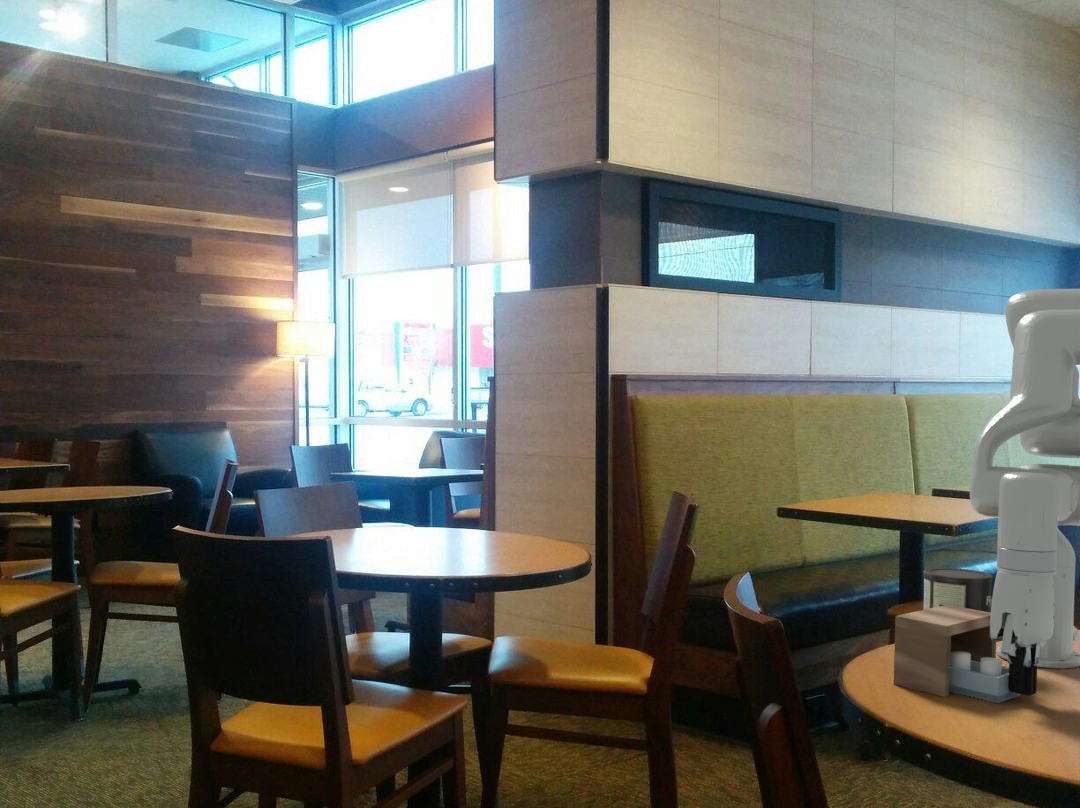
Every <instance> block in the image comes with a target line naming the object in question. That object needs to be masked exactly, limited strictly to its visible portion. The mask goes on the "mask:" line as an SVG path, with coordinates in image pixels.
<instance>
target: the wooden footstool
mask: <svg viewBox="0 0 1080 808" xmlns="http://www.w3.org/2000/svg"><path fill="white" fill-rule="evenodd" d="M990 619H991V613H990V612H984V611H979V610H973V609H968V608H962V607H956V606H951V605H943V606H939V607H934V608H930V609H925V610H924V609H921V610H917V611H912V612H908V613H903V614H898V615H895V620H894V622H895V623H894V625H895V626H894V655H893V656H894V657H893V659H894V661H893V685H895V686H899V687H903V688H908V689H911V690H915V691H919V692H923V693H928V694H931V695H934V696H939V697H942V698H946V697H948V696H950V692H949V683H950V652H951V651H963V652H968V653H970V654H971V660H972V661H977V662H980V659H981V658H984V657H989V658H996V657H997V655H996V654H997V642H995V641H992V640H991V638H990ZM996 659H997V658H996Z"/></svg>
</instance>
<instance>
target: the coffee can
mask: <svg viewBox="0 0 1080 808" xmlns="http://www.w3.org/2000/svg"><path fill="white" fill-rule="evenodd" d="M923 578H924V579H923V610H925V609H930V608H934V607H939V606H943V605H951V606H956V607H962V608H968V609H973V610H979V611H984V612H990V613H991V607H992V582H993V575H992V574H990V573H987V572H985V571H979V570H974V569H966V568H957V567H956V568H955V567H932V568H926V569H924V570H923Z"/></svg>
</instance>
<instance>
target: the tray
mask: <svg viewBox="0 0 1080 808" xmlns="http://www.w3.org/2000/svg"><path fill="white" fill-rule="evenodd" d="M1002 665H1003V660H1001V659H1000V658H989V657H984V658H981V659H980V662H977V661H972V660H971V654H970V653H968V652H963V651H951V652H950V683H949V693H952V694H957V695H961V694H962V695H961V696H965V695H966V697H969V696H971V697H970V698H973V697H975V698H974V699H977V698H979V699H978V700H981V699H983V700H982V701H986V700H987V701H986V702H990V701H991V703H994V702H995V703H994V704H1001V703H1003V702H1006V701H1008V700H1011V699H1013V698H1014V699H1015V698H1016V697H1020V695H1021V694H1018V693H1014V692H1010V691H1009V689H1008V688H1009V667H1004V666H1002Z"/></svg>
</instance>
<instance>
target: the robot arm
mask: <svg viewBox="0 0 1080 808" xmlns="http://www.w3.org/2000/svg"><path fill="white" fill-rule="evenodd" d="M1005 323H1006V327H1007V332H1008V336H1009V339H1010V342H1011V344H1012V347H1013V354H1012V355H1013V356H1012V368H1011V369H1012V370H1011V380H1010V388H1009V389H1010V393H1009V400H1008V402H1007V404H1006V405H1005V406H1004V407H1003V408H1002V409H1000V411H998V412H997V413H996V414H995V415H993V416H992V418H990V420H989V421H987V423H986V425H984V427H983V429H982V430H981V431H980V433H979V435H978V437H977V439H976V441H975V444H974V448H973V452H972V461H971V469H970V470H971V471H970V480H969V500H970V504H971V506H972V508H973V510H974V511H975V512H976V513H977V514H979V515H981V516H984V517H989V518H990V517H991V518H997V520H998V521H997V549H996V550H997V551H996V570H997V571H996V575H995V580H994V585H993V591H992V597H991V619H990V638H991V640H992V641H995V642H996V643H999V642H1001V644H1000V645H998V646H997V647H996V654H997V655H998V656H999V657H1000V658H1002V659H1004V660H1006V661H1007V663H1008V668H1009V688H1008V689H1009V691H1010V692H1014V693H1018V694H1020V695H1023V696H1028V697H1030V696H1033V695H1035V694H1037V691H1038V690H1037V688H1038V687H1037V684H1038V683H1037V682H1038V667H1039V668H1047V669H1048V668H1049V669H1071V668H1077V667H1078V668H1079V667H1080V653H1079V652H1078V651H1077V652H1076V651H1074V650H1073V646H1074V645H1073V644H1074V642H1076V641H1078V640H1079V638H1080V634H1079V632H1078V631H1076V630H1075V629H1074V618H1075V617H1074V614H1075V612H1074V611H1075V587H1076V586H1075V584H1076V583H1075V580H1076V553H1075V549H1074V547H1073V545H1072V544H1071V543H1070V541H1069V539H1067V537H1066V536H1065V535H1064V533H1063V532H1062V531H1061V530H1060V529H1059V526H1078V527H1080V465H1069V464H1057V463H1056V464H1052V463H1050V464H1049V463H1029V464H1024V465H1020V466H1018V467H1015V466H993V462H994V459H995V458H994V457H995V455H996V452H997V451H998V449H999V448H1000V447H1001V446H1002V445H1003V444H1004V443H1006V442H1007V441H1008V440H1010V439H1012V438H1013V437H1015V436H1018V435H1019V438H1020V439H1019V440H1020V445H1021V447H1022V448H1023V450H1024V451H1025V452H1026V453H1028V454H1030V455H1034V456H1039V457H1046V458H1062V459H1080V397H1079V384H1080V370H1079V368H1078V366H1079V365H1080V288H1047V289H1046V288H1043V289H1031V290H1025V291H1024V290H1023V291H1021V292H1018V293H1016V294H1014V295H1012V296H1010V298H1008V300H1007V301H1006V306H1005Z"/></svg>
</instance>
